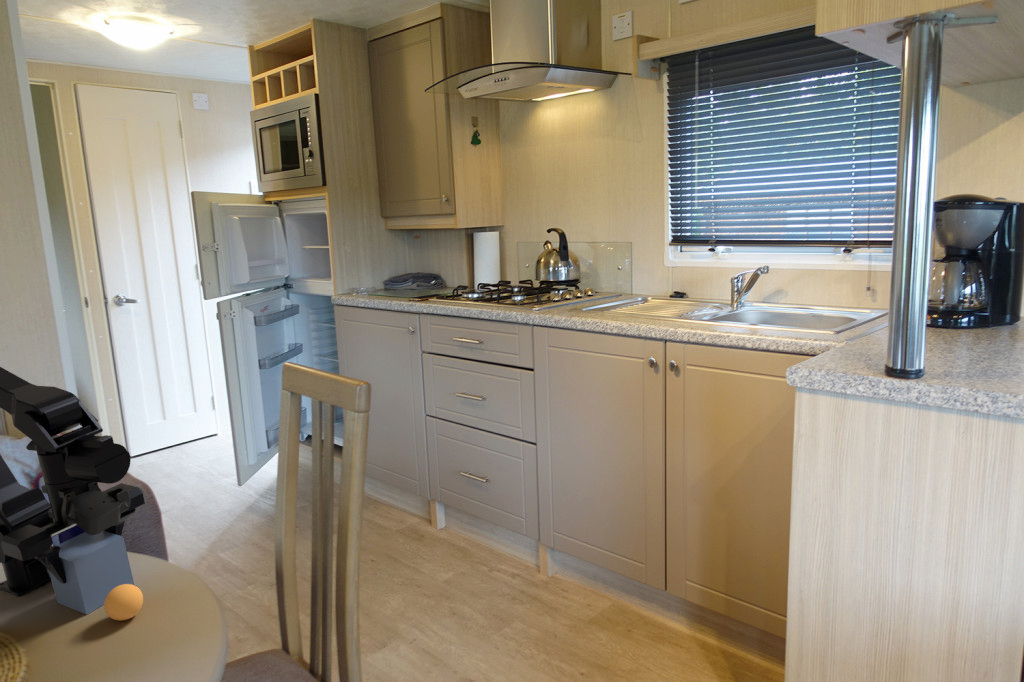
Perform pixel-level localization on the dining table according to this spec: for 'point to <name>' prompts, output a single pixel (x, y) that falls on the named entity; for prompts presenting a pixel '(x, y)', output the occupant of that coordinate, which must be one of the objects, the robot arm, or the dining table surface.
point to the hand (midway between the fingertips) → (90, 568)
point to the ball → (123, 602)
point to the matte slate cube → (91, 570)
